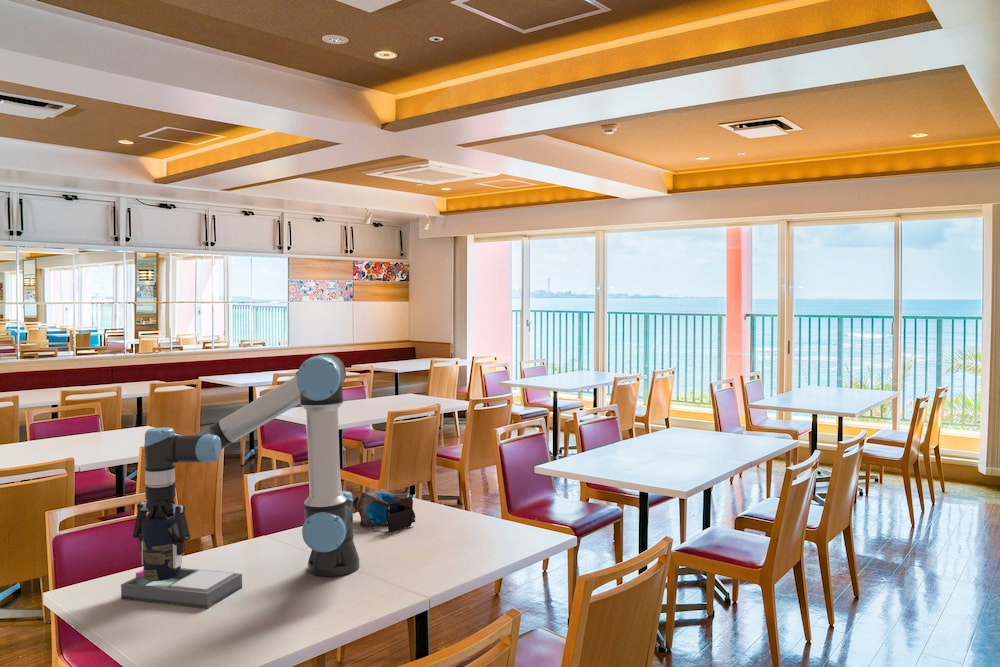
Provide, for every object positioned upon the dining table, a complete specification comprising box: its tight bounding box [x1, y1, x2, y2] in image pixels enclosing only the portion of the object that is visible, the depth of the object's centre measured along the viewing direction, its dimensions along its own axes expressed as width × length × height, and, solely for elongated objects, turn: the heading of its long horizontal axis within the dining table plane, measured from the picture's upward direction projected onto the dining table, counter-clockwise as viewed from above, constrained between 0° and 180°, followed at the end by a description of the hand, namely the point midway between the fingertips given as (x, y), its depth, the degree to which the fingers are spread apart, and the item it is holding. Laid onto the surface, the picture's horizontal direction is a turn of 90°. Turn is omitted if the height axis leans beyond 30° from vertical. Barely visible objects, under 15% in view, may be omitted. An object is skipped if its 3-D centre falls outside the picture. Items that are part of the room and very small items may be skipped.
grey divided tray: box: [120, 567, 243, 610], centre depth 203 cm, size 27×15×5 cm, turn 75°
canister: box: [142, 515, 182, 581], centre depth 204 cm, size 10×10×18 cm
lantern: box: [353, 488, 416, 534], centre depth 266 cm, size 16×16×25 cm
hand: (162, 564), depth 204 cm, fingers closed on canister, 9 cm apart
